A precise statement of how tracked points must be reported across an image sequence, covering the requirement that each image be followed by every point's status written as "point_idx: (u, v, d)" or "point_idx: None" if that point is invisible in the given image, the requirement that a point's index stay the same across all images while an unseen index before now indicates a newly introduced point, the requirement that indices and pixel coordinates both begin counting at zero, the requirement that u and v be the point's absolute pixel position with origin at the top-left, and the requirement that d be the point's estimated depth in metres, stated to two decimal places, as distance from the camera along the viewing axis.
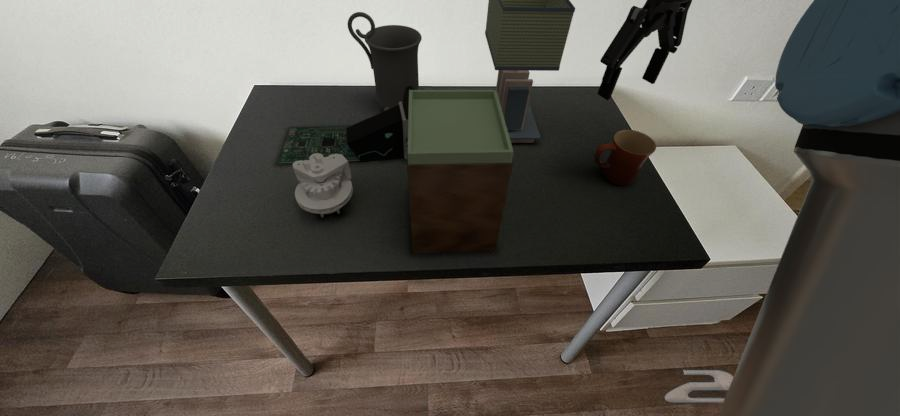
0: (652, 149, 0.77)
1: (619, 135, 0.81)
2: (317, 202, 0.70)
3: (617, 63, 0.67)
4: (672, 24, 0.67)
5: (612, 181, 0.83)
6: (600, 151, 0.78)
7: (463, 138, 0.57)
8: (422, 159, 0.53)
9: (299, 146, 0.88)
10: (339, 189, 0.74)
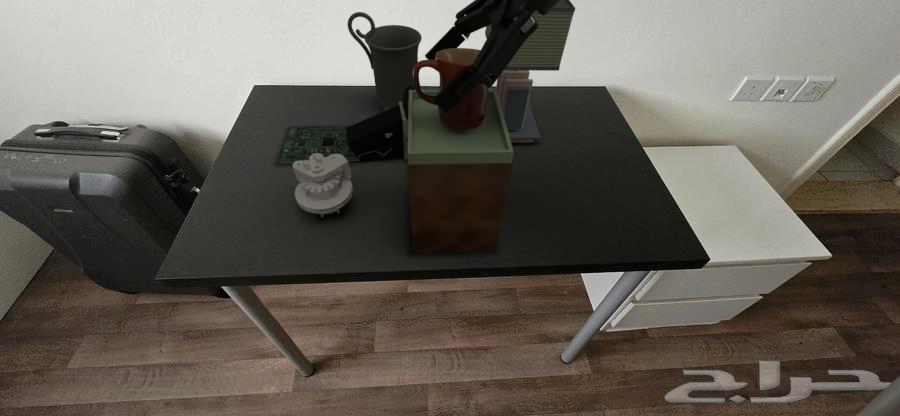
0: None
1: (450, 55, 0.55)
2: (317, 202, 0.70)
3: (459, 19, 0.58)
4: (496, 19, 0.48)
5: (448, 124, 0.55)
6: (415, 70, 0.52)
7: (463, 138, 0.57)
8: (422, 159, 0.53)
9: (299, 146, 0.88)
10: (339, 189, 0.74)
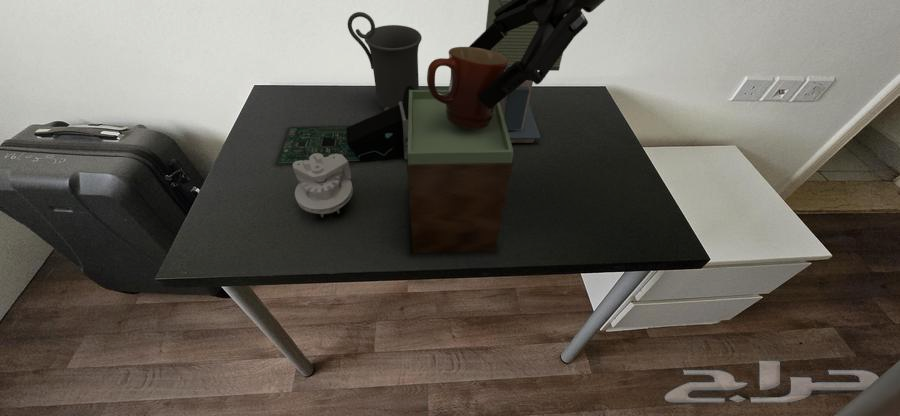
0: (505, 63, 0.52)
1: (458, 54, 0.54)
2: (317, 202, 0.70)
3: (498, 16, 0.58)
4: (544, 16, 0.48)
5: (461, 123, 0.55)
6: (433, 69, 0.50)
7: (463, 138, 0.57)
8: (422, 159, 0.53)
9: (299, 146, 0.88)
10: (339, 189, 0.74)
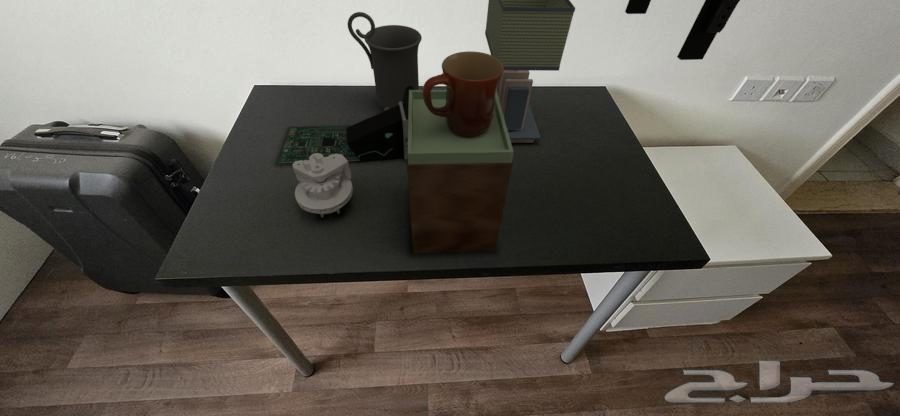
0: (500, 71, 0.51)
1: (451, 63, 0.53)
2: (317, 202, 0.70)
3: None
4: None
5: (462, 133, 0.56)
6: (428, 90, 0.50)
7: (463, 138, 0.57)
8: (422, 159, 0.53)
9: (299, 146, 0.88)
10: (339, 189, 0.74)
